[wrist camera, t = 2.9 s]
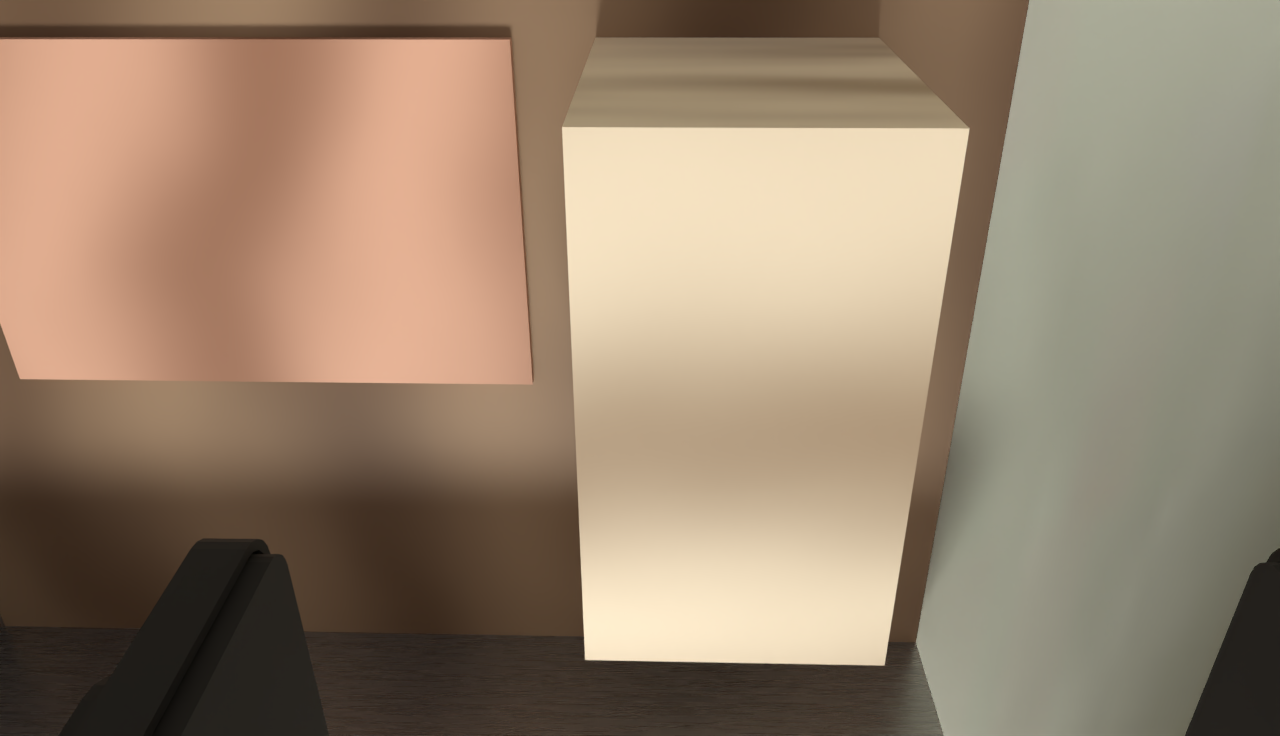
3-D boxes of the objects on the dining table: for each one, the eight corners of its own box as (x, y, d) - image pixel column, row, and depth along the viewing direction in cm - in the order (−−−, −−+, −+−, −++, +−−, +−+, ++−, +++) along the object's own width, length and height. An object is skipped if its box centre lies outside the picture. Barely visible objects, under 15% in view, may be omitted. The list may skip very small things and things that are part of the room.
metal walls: (1076, -268, 15) (1243, -309, 11) (909, 677, 25) (960, 861, 20) (-441, -256, 16) (-873, -289, 11) (-26, 659, 25) (-172, 833, 21)
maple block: (595, 37, 17) (561, 128, 12) (879, 38, 17) (969, 128, 12) (606, 458, 22) (585, 660, 16) (833, 461, 22) (884, 665, 16)
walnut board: (1054, -262, 16) (1080, -269, 15) (901, 648, 25) (911, 683, 24) (-382, -251, 17) (-454, -256, 15) (-2, 632, 26) (-31, 665, 25)
